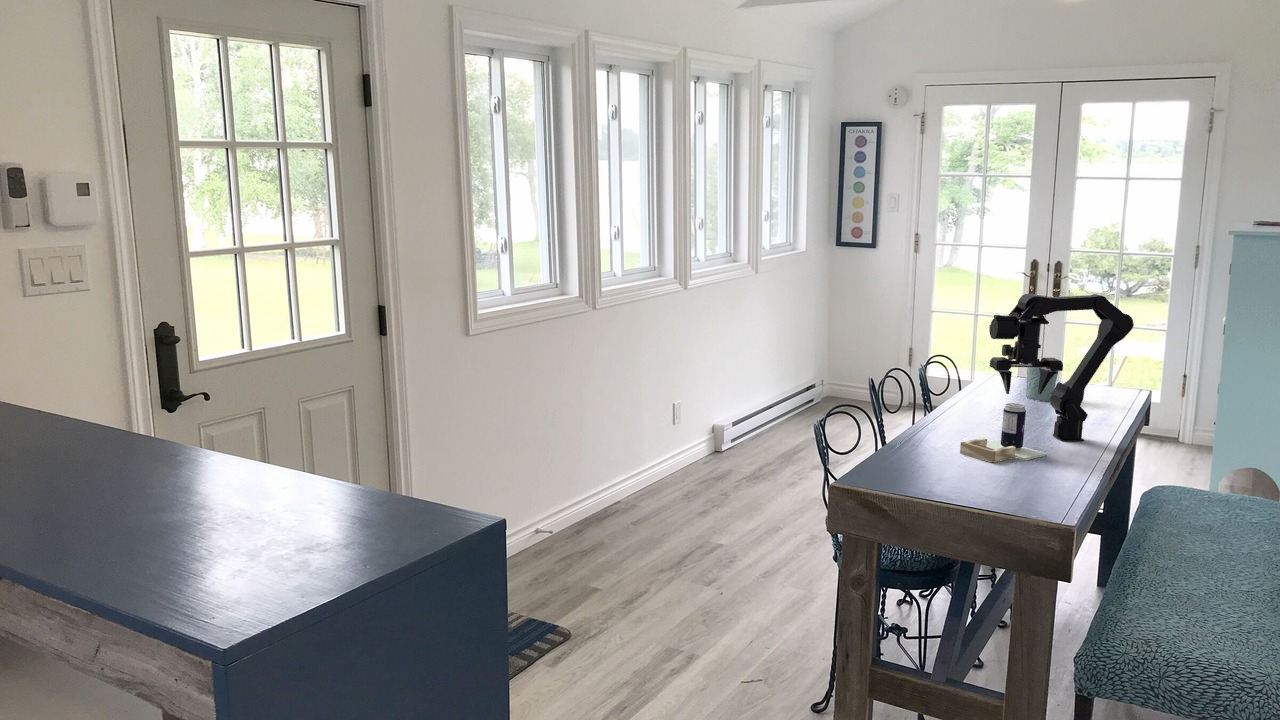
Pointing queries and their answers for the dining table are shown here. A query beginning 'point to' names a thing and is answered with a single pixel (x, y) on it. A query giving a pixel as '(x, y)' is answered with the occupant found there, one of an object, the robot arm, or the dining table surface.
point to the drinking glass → (1033, 384)
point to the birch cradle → (986, 450)
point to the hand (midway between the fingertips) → (1023, 393)
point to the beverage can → (1013, 425)
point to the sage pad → (1021, 453)
